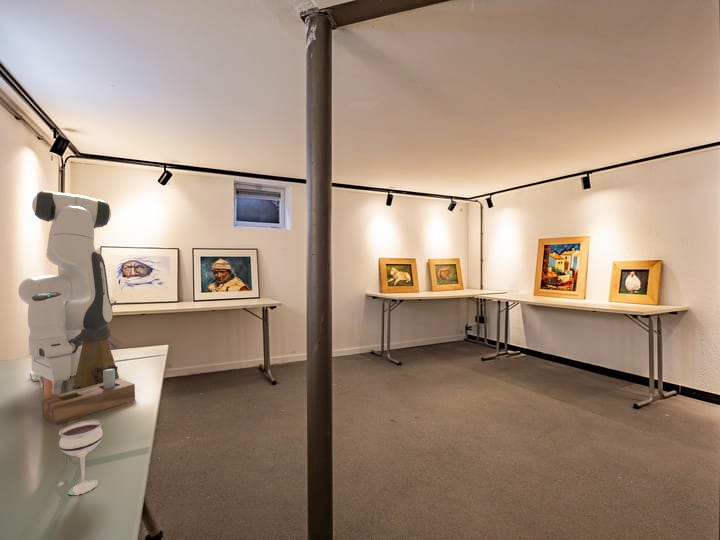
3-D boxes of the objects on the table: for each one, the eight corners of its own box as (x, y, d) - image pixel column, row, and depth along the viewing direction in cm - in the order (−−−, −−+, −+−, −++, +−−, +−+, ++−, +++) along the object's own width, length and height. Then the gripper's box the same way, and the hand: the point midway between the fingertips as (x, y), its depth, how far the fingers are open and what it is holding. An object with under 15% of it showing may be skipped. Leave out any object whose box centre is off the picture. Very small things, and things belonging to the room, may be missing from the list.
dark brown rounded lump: (89, 397, 115) (88, 373, 114) (93, 390, 121) (92, 367, 121) (116, 393, 118) (115, 369, 118) (119, 386, 125) (119, 363, 124)
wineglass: (106, 473, 74) (104, 416, 74) (102, 491, 68) (100, 430, 68) (64, 484, 71) (62, 425, 70) (57, 504, 65) (54, 440, 64)
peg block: (42, 416, 101) (41, 399, 101) (120, 393, 118) (119, 378, 118) (55, 424, 96) (54, 406, 96) (135, 399, 113) (134, 384, 112)
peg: (43, 406, 108) (41, 374, 108) (55, 403, 110) (54, 371, 110) (46, 408, 106) (45, 375, 106) (59, 405, 109) (58, 373, 109)
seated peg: (102, 402, 111) (101, 370, 110) (113, 399, 113) (112, 368, 113) (106, 404, 109) (105, 372, 109) (117, 401, 112) (116, 369, 111)
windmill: (120, 370, 143) (117, 296, 141) (138, 376, 135) (135, 298, 134) (52, 387, 125) (49, 302, 123) (69, 395, 117) (65, 304, 116)
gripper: (23, 344, 111) (25, 387, 111) (47, 353, 100) (49, 401, 100) (49, 340, 116) (51, 381, 117) (74, 348, 105) (76, 394, 106)
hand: (50, 391), depth 108 cm, fingers open, 8 cm apart
